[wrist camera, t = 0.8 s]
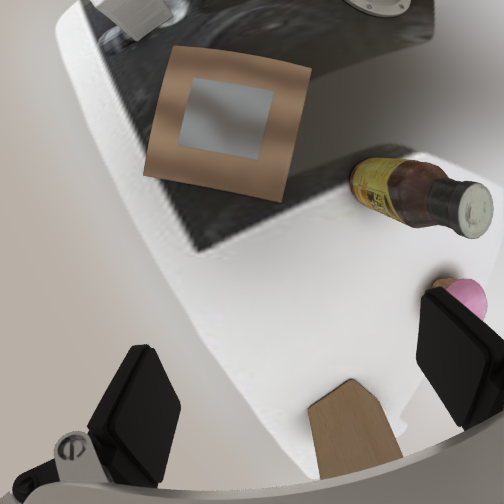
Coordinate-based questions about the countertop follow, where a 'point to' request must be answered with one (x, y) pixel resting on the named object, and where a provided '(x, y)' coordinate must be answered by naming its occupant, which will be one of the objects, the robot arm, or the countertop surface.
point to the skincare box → (135, 15)
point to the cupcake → (466, 294)
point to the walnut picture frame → (227, 121)
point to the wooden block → (351, 432)
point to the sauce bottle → (422, 195)
